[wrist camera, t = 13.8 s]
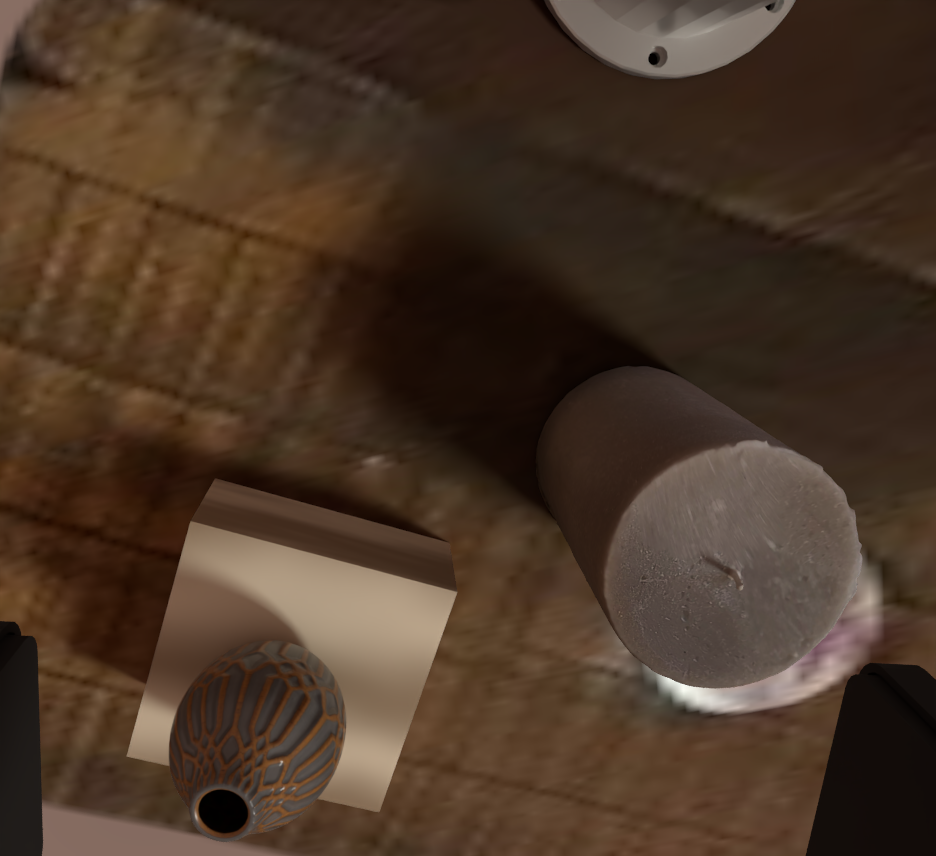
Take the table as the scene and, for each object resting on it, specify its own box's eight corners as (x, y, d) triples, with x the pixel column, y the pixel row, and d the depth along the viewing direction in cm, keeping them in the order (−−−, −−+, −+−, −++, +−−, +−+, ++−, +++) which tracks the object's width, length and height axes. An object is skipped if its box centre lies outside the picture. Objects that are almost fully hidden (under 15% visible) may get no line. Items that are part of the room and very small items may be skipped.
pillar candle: (538, 554, 46) (612, 727, 32) (531, 369, 43) (607, 465, 29) (721, 537, 47) (874, 697, 32) (725, 353, 44) (894, 440, 30)
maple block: (216, 475, 44) (190, 520, 38) (448, 539, 46) (457, 592, 40) (159, 684, 47) (126, 756, 41) (380, 737, 49) (379, 812, 43)
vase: (354, 617, 39) (313, 726, 31) (360, 757, 41) (323, 898, 32) (199, 616, 40) (116, 725, 31) (211, 756, 41) (135, 896, 33)
